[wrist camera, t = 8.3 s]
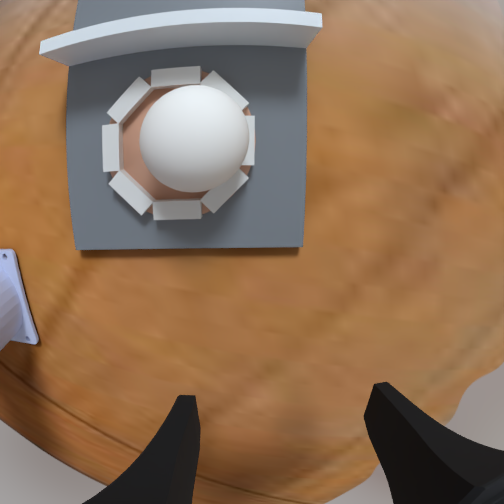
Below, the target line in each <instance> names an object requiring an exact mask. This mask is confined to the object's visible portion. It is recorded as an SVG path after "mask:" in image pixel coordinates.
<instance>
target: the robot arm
mask: <svg viewBox="0 0 504 504" xmlns="http://www.w3.org/2000/svg"><path fill="white" fill-rule="evenodd" d="M5 254H6V256H7V258H6V256H5ZM10 340H12V341H17V342H23V343H29V344H37V343H38V341H39V338H38V335H37V332H36V329H35V326H34V323H33V320H32V316H31V313H30V310H29V306H28V303H27V299H26V295H25V292H24V288H23V284H22V280H21V276H20V271H19V267H18V262H17V257H16V254H15V252H14V250H12V249H0V351H1V350H2V349H3V347H4V346H5V345H6V344H7V343H8V342H9V341H10ZM364 420H365V424H366V428H367V431H368V435H369V438H370V440H371V442H372V445H373V447H374V449H375V452H376V454H377V456H378V459H379V461H380V463H381V466H382V468H383V470H384V473H385V475H386V478H387V481H388V484H389V487H390V491H391V495H392V499H393V503H394V504H504V451H502V450H498V449H494V448H491V447H488V446H484V445H482V444H479V443H476V442H474V441H472V440H469V439H467V438H465V437H463V436H461V435H459V434H457V433H455V432H453V431H451V430H450V429H448V428H446V427H445V426H443V425H441V424H440V423H438V422H437V421H436V420H434V419H433V418H431V417H430V416H428V415H427V414H426V413H424V412H423V411H422V410H420V409H419V408H418V407H417V406H415V405H414V404H413V403H412V402H411V401H409V400H408V399H407V398H406V397H405V396H403V395H402V394H401V393H400V392H399V391H398V390H396V389H395V388H394V387H393V386H392V385H390V384H389V383H388V382H382V383H377V384H374V386H373V389H372V392H371V395H370V398H369V402H368V405H367V408H366V410H365V413H364ZM199 450H200V422H199V416H198V410H197V404H196V397H195V396H193V395H179V396H178V397H177V399H176V401H175V403H174V405H173V407H172V409H171V411H170V412H169V414H168V416H167V418H166V419H165V421H164V423H163V424H162V426H161V427H160V429H159V430H158V432H157V433H156V435H155V436H154V438H153V439H152V440H151V442H150V443H149V444H148V446H147V447H146V448H145V450H144V451H143V452H142V453H141V454H140V456H139V457H138V458H137V459H136V460H135V461H134V462H133V463H132V464H131V466H130V467H129V468H128V469H127V470H126V471H124V472H123V473H122V474H121V475H120V476H119V477H118V478H117V479H116V480H115V481H114V482H112V483H111V484H110V485H109V486H107V487H106V488H105V489H103V490H102V491H101V492H99V493H98V494H97V495H95V496H94V497H92V498H91V499H89V500H87V501H86V502H84V503H82V504H192V496H193V489H194V482H195V476H196V470H197V463H198V457H199Z"/></svg>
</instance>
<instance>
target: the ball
mask: <svg viewBox="0 0 504 504" xmlns="http://www.w3.org/2000/svg"><path fill="white" fill-rule="evenodd" d="M139 144H140V151H141V155H142V158H143V161H144V163H145V165H146V166H147V168H148V170H149V171H150V172H151V174H152V175H153V176H154V177H155V178H156V179H157V180H158V181H160V182H161V183H162V184H164V185H166V186H168V187H170V188H172V189H175V190H178V191H182V192H202V191H207V190H210V189H213V188H216V187H218V186H220V185H221V184H223V183H224V182H226V181H228V180H229V179H230V178H231V177H232V176H233V175H234V174H235V173H236V172H237V171H238V169H239V168H240V166H241V165H242V163H243V161H244V159H245V157H246V154H247V151H248V146H249V128H248V123H247V120H246V117H245V115H244V113H243V111H242V110H241V108H240V107H239V105H238V104H237V103H236V102H235V101H234V100H233V99H232V98H231V97H230V96H228V95H227V94H226V93H224V92H222V91H220V90H218V89H215V88H212V87H208V86H203V85H189V86H183V87H180V88H177V89H174V90H172V91H170V92H168V93H166V94H165V95H163V96H162V97H161V98H160V99H158V100H157V101H156V102H155V103H154V104H153V105H152V107H151V108H150V109H149V111H148V112H147V114H146V116H145V118H144V120H143V123H142V126H141V130H140V139H139Z"/></svg>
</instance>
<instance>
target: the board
mask: <svg viewBox="0 0 504 504" xmlns="http://www.w3.org/2000/svg"><path fill="white" fill-rule="evenodd" d="M321 29H322V14H321V13H313V12H305V2H304V0H78V5H77V10H76V16H75V22H74V29H73V31H71V32H68V33H64V34H61V35H58V36H55V37H52V38H49V39H46V40H43V41H41V45H40V52H39V55H42V56H45V57H47V58H50V59H52V60H55V61H57V62H60V63H62V64H64V65H67V66H69V73H68V87H67V112H66V145H67V171H68V186H69V198H70V208H71V217H72V225H73V233H74V240H75V247H76V250H105V249H172V248H254V247H303V235H304V214H305V188H306V150H307V60H306V48H307V47H308V45H309V44H310V43H311V41H312V40H313V39H314V38H315V36H316V35H317V34H318V32H319V31H320V30H321ZM189 85H203V86H208V87H212V88H215V89H218V90H220V91H222V92H224V93H226V94H227V95H228V96H230V97H231V98H232V99H233V100H234V101H235V102H236V103H237V104H238V105H239V107H240V108H241V110H242V111H243V113H244V115H245V117H246V120H247V123H248V128H249V146H248V151H247V154H246V157H245V159H244V161H243V163H242V165H241V166H240V168H239V169H238V171H237V172H236V173H235V174H234V175H233V176H232V177H231V178H230V179H229V180H228V181H226V182H224V183H223V184H221V185H220V186H218V187H216V188H213V189H210V190H207V191H202V192H182V191H178V190H175V189H172V188H170V187H168V186H166V185H164V184H162V183H161V182H160V181H158V180H157V179H156V178H155V177H154V176H153V175H152V174H151V172H150V171H149V170H148V168H147V166H146V165H145V163H144V161H143V158H142V155H141V151H140V144H139V139H140V130H141V126H142V123H143V120H144V118H145V116H146V114H147V112H148V111H149V109H150V108H151V107H152V105H153V104H154V103H155V102H156V101H157V100H158V99H160V98H161V97H162V96H163V95H165V94H166V93H168V92H170V91H172V90H174V89H177V88H180V87H183V86H189Z"/></svg>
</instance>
